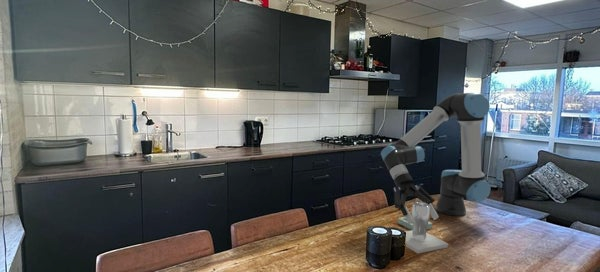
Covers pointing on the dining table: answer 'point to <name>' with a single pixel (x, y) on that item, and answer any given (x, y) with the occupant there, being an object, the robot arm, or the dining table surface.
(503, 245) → the dining table surface
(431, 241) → the tile board
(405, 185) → the robot arm
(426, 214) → the beer glass
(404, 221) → the green square frame
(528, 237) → the dining table surface
